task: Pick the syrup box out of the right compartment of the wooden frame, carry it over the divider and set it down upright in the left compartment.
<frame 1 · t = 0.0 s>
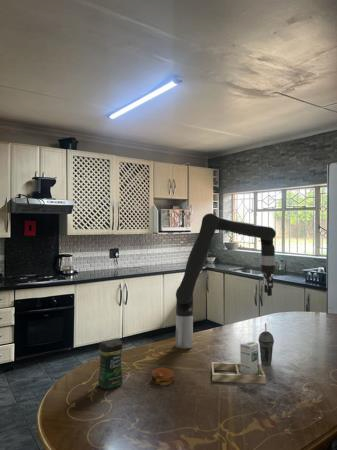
hand: (267, 294, 186), 29 cm above the table, fingers open, 8 cm apart
beverage cup: (266, 364, 164), on the table
coffee jar: (110, 385, 143), on the table
syrup box: (249, 376, 151), resting in wooden frame
wooden frame: (237, 375, 152), on the table
burger: (162, 381, 147), on the table
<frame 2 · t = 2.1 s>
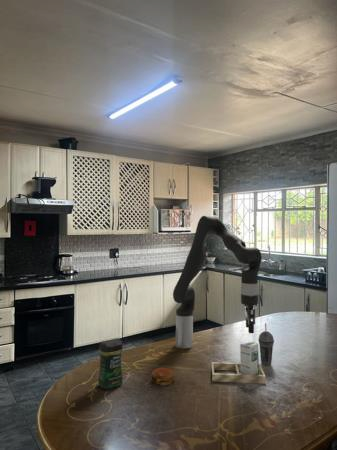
hand: (249, 330, 152), 20 cm above the table, fingers open, 8 cm apart
nothing on the table moved.
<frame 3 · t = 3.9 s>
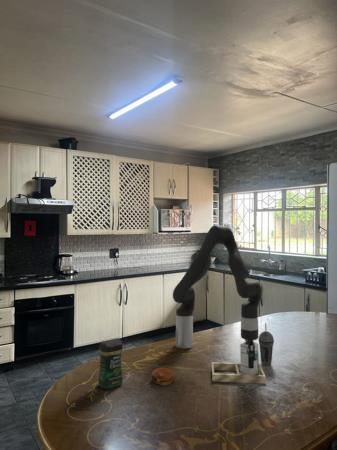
hand: (249, 364, 151), 5 cm above the table, fingers closed on syrup box, 8 cm apart
syrup box: (249, 376, 151), resting in wooden frame, touching gripper
everything else where it was.
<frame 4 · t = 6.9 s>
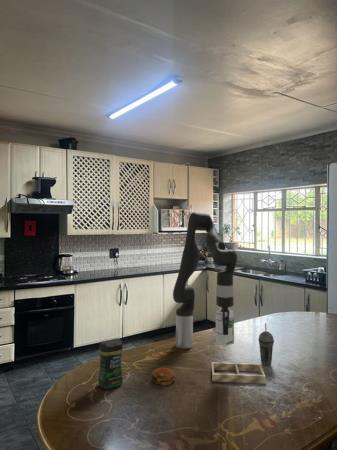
hand: (224, 331, 153), 19 cm above the table, fingers closed on syrup box, 8 cm apart
syrup box: (224, 344, 153), point 14 cm above the table, touching gripper
everything else where it was.
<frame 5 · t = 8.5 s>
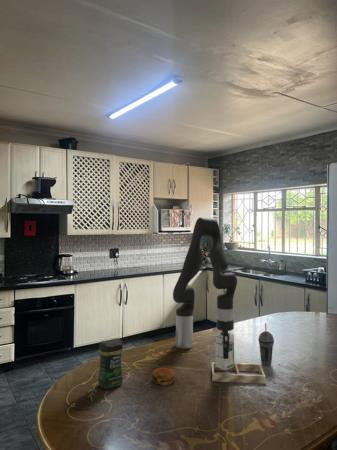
hand: (225, 355, 152), 9 cm above the table, fingers closed on syrup box, 8 cm apart
syrup box: (225, 367, 152), point 3 cm above the table, touching gripper
everything else where it was.
when the fingers open (6 cm above the table, at t = 9.8 s): syrup box drops 1 cm, resting in wooden frame.
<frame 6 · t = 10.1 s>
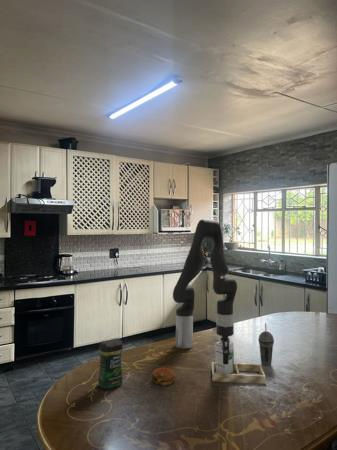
hand: (225, 360, 152), 7 cm above the table, fingers open, 8 cm apart
syrup box: (224, 375, 152), resting in wooden frame
everything else where it was.
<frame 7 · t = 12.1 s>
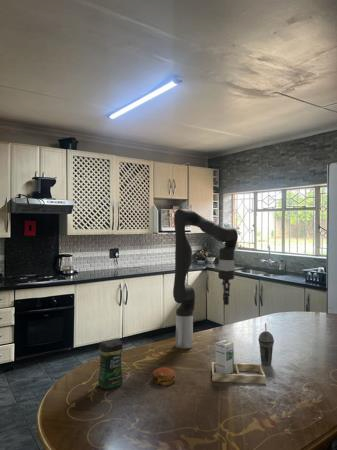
hand: (225, 302, 167), 29 cm above the table, fingers open, 8 cm apart
nothing on the table moved.
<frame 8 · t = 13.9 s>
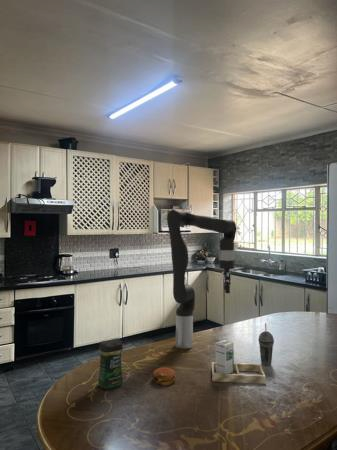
hand: (226, 291, 173), 33 cm above the table, fingers open, 8 cm apart
nothing on the table moved.
at the end: syrup box inside the target area (0.3 cm from its centre), resting in wooden frame; syrup box tilted 0°; the gripper is holding nothing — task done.
